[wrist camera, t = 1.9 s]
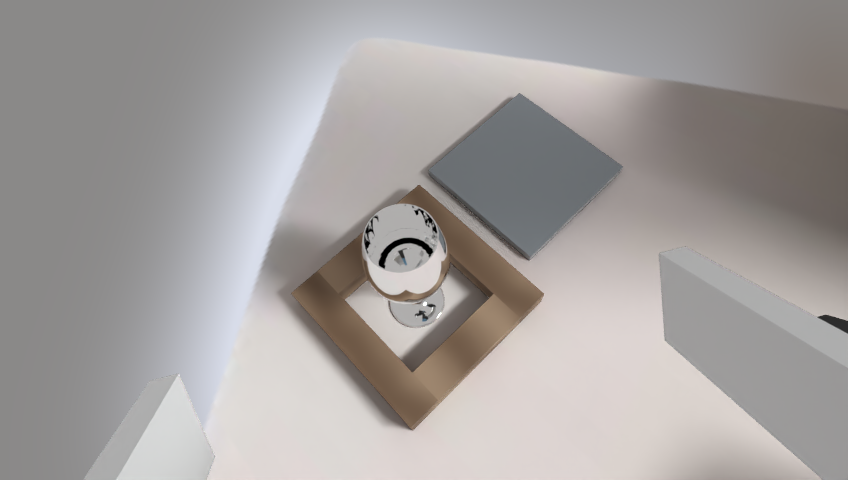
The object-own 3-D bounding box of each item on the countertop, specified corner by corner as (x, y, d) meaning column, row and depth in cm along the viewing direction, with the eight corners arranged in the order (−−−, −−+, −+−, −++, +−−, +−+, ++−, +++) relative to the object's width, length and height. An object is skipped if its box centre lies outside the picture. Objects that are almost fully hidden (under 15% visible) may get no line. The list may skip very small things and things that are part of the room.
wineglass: (379, 272, 43) (351, 201, 33) (447, 264, 43) (442, 190, 32) (384, 340, 41) (355, 287, 30) (457, 331, 41) (454, 275, 30)
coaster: (518, 98, 50) (519, 93, 49) (620, 171, 46) (623, 166, 45) (429, 174, 47) (428, 169, 46) (529, 260, 43) (530, 256, 42)
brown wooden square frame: (420, 195, 46) (419, 184, 45) (541, 301, 41) (544, 293, 40) (297, 300, 43) (290, 293, 41) (412, 430, 38) (410, 428, 36)
